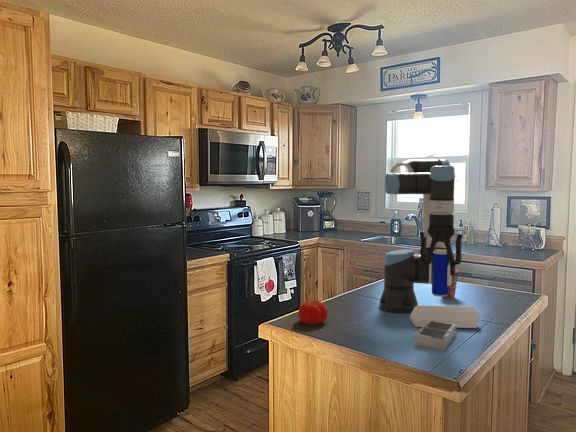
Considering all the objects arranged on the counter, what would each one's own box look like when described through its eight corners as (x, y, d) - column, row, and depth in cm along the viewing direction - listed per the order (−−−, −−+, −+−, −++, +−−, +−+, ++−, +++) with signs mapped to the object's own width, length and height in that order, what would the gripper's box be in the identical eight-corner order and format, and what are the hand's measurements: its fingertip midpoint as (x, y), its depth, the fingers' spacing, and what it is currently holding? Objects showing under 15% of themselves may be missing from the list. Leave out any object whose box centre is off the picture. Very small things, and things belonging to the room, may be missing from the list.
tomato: (319, 316, 170) (319, 297, 169) (332, 325, 160) (332, 304, 159) (293, 320, 166) (293, 300, 166) (305, 329, 156) (305, 308, 155)
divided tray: (414, 345, 140) (414, 334, 139) (428, 329, 154) (429, 319, 154) (444, 351, 135) (444, 339, 135) (456, 334, 149) (456, 324, 149)
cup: (456, 300, 190) (457, 272, 189) (436, 297, 195) (436, 270, 194) (460, 295, 198) (461, 269, 197) (441, 293, 203) (441, 267, 202)
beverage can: (435, 292, 150) (435, 248, 149) (450, 294, 147) (451, 249, 146) (429, 295, 146) (430, 250, 145) (444, 297, 143) (445, 251, 142)
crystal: (412, 319, 154) (484, 320, 152) (409, 303, 160) (479, 305, 157) (410, 333, 158) (480, 335, 156) (408, 318, 164) (475, 319, 162)
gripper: (410, 213, 146) (409, 283, 148) (469, 215, 136) (467, 289, 138) (416, 211, 152) (415, 278, 154) (473, 213, 143) (471, 284, 145)
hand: (440, 283), depth 146 cm, fingers closed on beverage can, 5 cm apart
